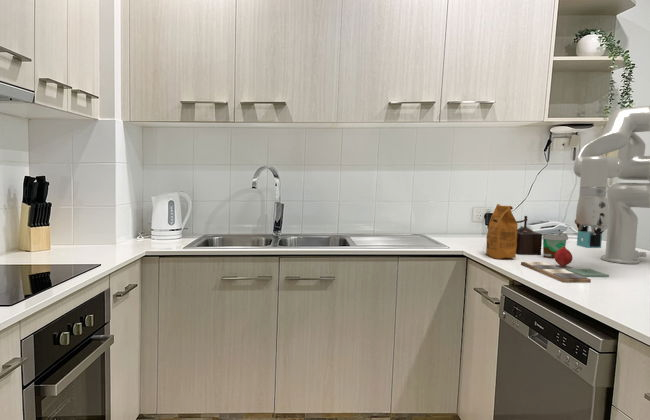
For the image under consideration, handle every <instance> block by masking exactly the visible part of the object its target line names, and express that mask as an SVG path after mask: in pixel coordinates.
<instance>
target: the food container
mask: <svg viewBox="0 0 650 420" xmlns="http://www.w3.org/2000/svg"><path fill="white" fill-rule="evenodd" d="M568 240H569V236H568V234H567V233H564V232H561V231H560V232H559V234H554V233H552V234H551V233H550V234H549V233H547V234H546V233H542V241H543V242H542V245H543V246H542V247H543V248H542V250H543V251H542V256H543V258H546V259H552V260H553V259H554V255H555V253H556V252H557V251H558V250H559V249H561V248H562V247H563V246H566V244H567V241H568ZM566 247H567V246H566ZM554 260H555V259H554Z"/></svg>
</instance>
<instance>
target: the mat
mask: <svg viewBox="0 0 650 420" xmlns="http://www.w3.org/2000/svg"><path fill="white" fill-rule="evenodd" d="M565 270H567V271H570V272H573V273H575V274H578V275H581V276H584V277H586V278H609V277H610V275H609V274H607V273H605V272H604V273H603V272H601V271H598V270H595V269H592V268H565Z"/></svg>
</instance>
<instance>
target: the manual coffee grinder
mask: <svg viewBox="0 0 650 420" xmlns="http://www.w3.org/2000/svg"><path fill="white" fill-rule="evenodd" d="M516 222H517V224H520V223H523V222H524V223H523V224H524V225H523V226H520V227H519V228H517V240H516V241H517V247H516V255H518V256H541V255H542V247H543V246H542V245H543V242H542V241H543V239H542V237H543V233H540V232H537V231H534V230H533V229H531V228H529V227H527V224H528V223H527V222H528V215H524V219H522V220H516Z"/></svg>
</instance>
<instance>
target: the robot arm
mask: <svg viewBox="0 0 650 420" xmlns="http://www.w3.org/2000/svg"><path fill="white" fill-rule="evenodd" d="M645 132H650V105H643V106H634V107H633V106H632V107H624V108H619V109H617V110H615V111H612V113H611V114H610V116H609V118H608V120H607V122H606V124H605V126H604V129H603V131H602V133H601V135H600V136H597V137H596V138H594V139H593V140H591V141H590V142H587V143H586V144H585V145H584V146H582V148H581V149H580V150H579V152H578V154H577V157H576V159H575V161H574V164H573V173H574V175H575V176H576V177H578V178H580V179H579V180H580V181H579V197H578V200H577V205H576V212H575V220H574V224H575V225H576V227H577V232H578V231H589V229H591V231H592V235H591V236H590V246H591V247H600V239H601V235H602V236H603V233H604V231H606V240H605V241H606V242H605V243H606V244H605V254H601V255H600V259H601V260H603V261H607V262H611V263H616V264H625V265H626V264H628V265H630V264H631V265H633V264H635V265H636V264H639V263H640V262H641V261H640V259H638V258H639V257H640V258H646V257H647V255H648V254H647V252H645V251H640V252H639V251H638V250H636V246H637V235H638V233H637V232H638V224H639V223H638V222H639V221H638V216H637V213H636V212H634V210H633V209H632V208H642V209H643V208H644V209H650V155H645V152H646V143H645V141H644V140H643V139H642V138H641V137H640V136H639V134H637V133H645ZM616 151H617V156H602V155H605V154H610V153H612V152H616ZM613 178H617V179H619V180H623V181H648V182H617V183H613V184H611V185H610V186H609V187H608V188H607V185H608V179H613ZM606 196H607V197H606ZM606 229H607V230H606Z"/></svg>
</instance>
